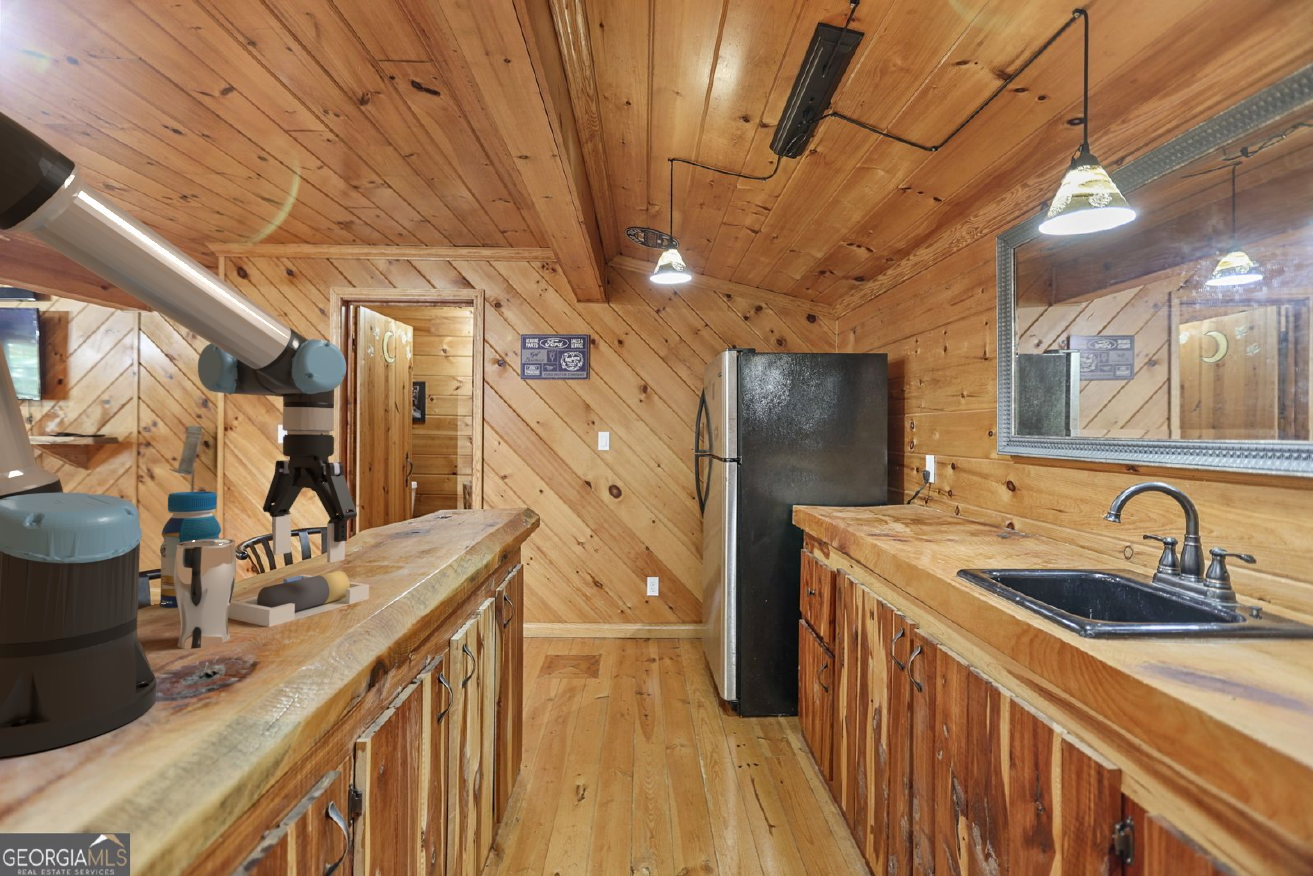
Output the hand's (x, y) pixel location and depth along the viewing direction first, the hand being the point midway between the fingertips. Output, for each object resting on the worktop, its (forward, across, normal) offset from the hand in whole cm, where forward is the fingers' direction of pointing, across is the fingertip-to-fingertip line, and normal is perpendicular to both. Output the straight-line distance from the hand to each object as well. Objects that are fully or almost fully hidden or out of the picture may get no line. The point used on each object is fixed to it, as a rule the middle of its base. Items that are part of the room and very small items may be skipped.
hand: (308, 557), depth 100 cm
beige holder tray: (+10, +4, 0) cm, 10 cm away
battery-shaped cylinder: (+8, 0, 0) cm, 9 cm away
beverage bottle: (+10, +21, +6) cm, 24 cm away
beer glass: (+10, -3, +18) cm, 20 cm away
